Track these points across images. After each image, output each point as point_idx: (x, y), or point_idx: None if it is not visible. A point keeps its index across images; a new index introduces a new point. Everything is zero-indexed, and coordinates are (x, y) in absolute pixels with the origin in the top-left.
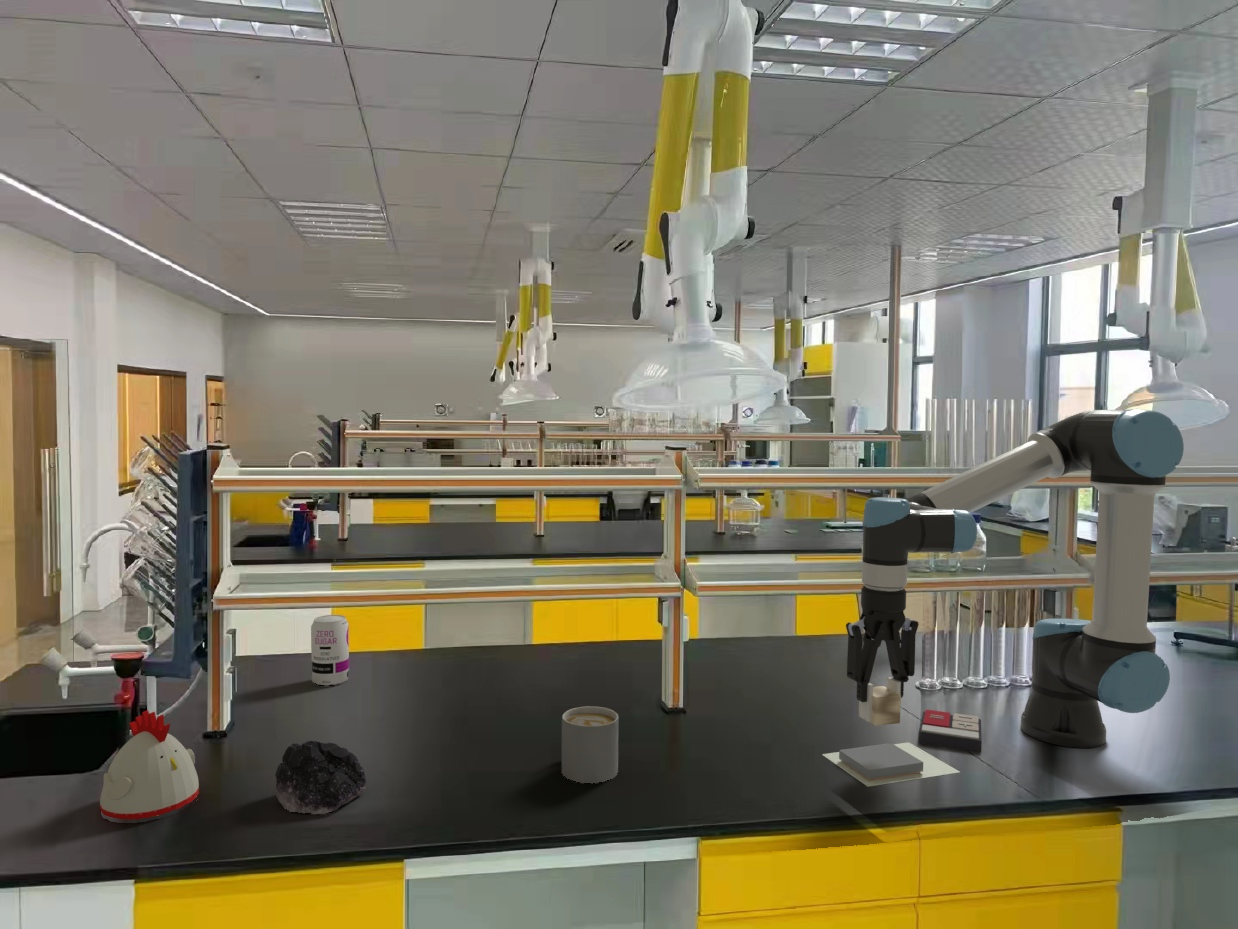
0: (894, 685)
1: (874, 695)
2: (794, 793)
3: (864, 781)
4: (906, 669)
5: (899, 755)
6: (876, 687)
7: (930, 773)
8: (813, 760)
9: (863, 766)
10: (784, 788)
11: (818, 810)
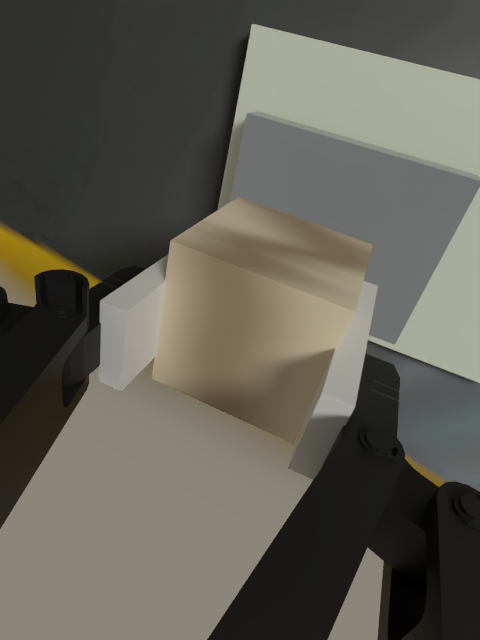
0: (303, 428)
1: (162, 360)
2: (71, 165)
3: None
4: (403, 566)
5: (384, 272)
6: (280, 299)
7: (414, 340)
8: (239, 4)
9: None
10: (62, 129)
11: (78, 252)
